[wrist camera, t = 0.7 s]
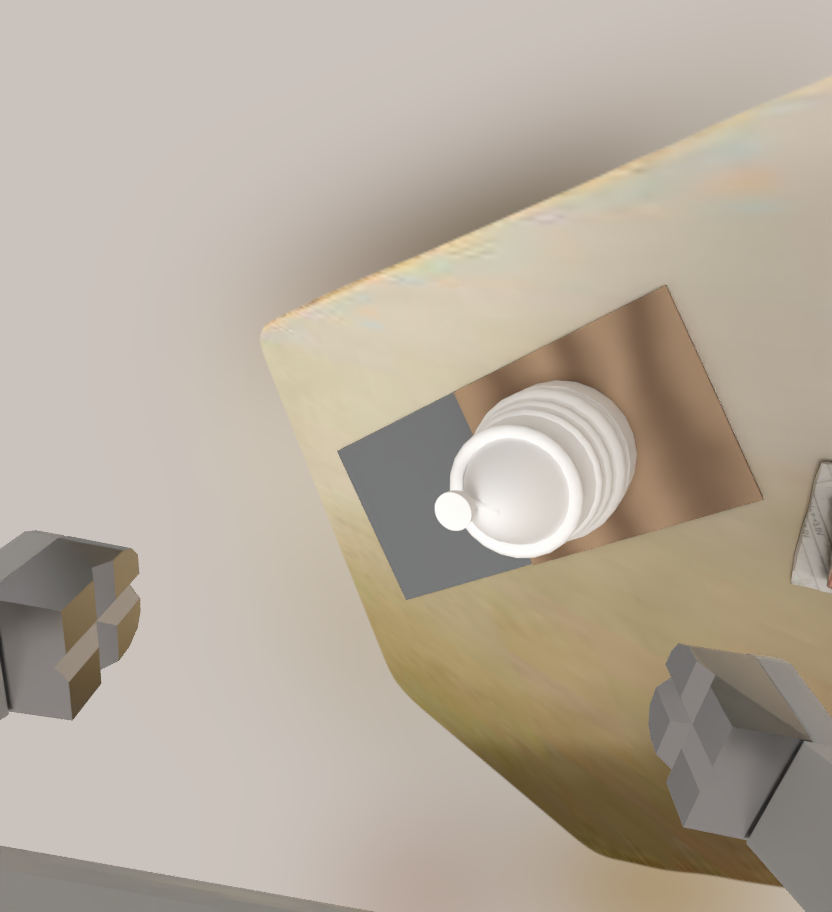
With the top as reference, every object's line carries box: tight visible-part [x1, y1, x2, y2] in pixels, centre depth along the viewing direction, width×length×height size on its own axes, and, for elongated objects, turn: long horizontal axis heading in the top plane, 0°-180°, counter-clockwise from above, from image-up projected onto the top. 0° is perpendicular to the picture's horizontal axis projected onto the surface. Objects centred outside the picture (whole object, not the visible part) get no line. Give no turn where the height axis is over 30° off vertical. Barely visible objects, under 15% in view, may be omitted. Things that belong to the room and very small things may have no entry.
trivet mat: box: [337, 391, 532, 600], centre depth 59 cm, size 16×18×1 cm
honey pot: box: [435, 380, 637, 558], centre depth 43 cm, size 13×13×18 cm
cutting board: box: [454, 285, 763, 565], centre depth 50 cm, size 20×18×1 cm
